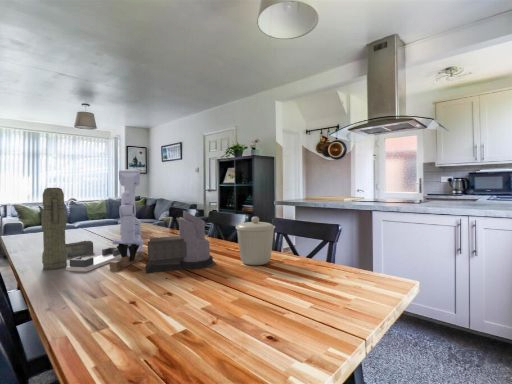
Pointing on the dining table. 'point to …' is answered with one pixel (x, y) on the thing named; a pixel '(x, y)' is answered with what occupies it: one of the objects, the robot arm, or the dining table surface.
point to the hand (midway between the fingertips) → (128, 260)
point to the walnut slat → (126, 261)
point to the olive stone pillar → (54, 229)
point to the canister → (255, 241)
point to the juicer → (181, 248)
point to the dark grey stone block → (79, 248)
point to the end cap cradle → (94, 260)
